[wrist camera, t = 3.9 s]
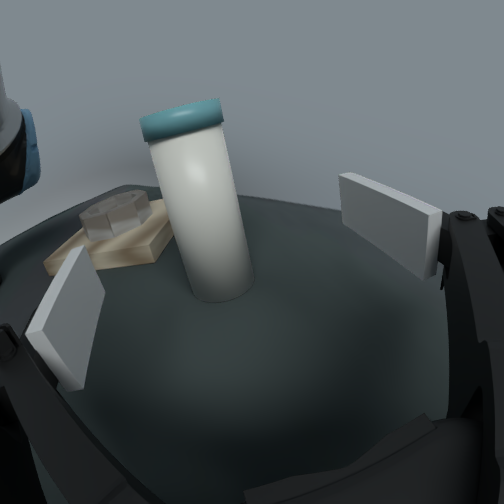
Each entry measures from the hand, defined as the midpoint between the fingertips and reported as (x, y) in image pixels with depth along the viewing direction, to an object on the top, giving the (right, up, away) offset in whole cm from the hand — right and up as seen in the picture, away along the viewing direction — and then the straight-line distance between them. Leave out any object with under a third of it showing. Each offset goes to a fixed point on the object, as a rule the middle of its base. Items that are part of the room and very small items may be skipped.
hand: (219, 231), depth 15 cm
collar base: (-15, +1, +24) cm, 28 cm away
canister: (-1, -3, +10) cm, 10 cm away
